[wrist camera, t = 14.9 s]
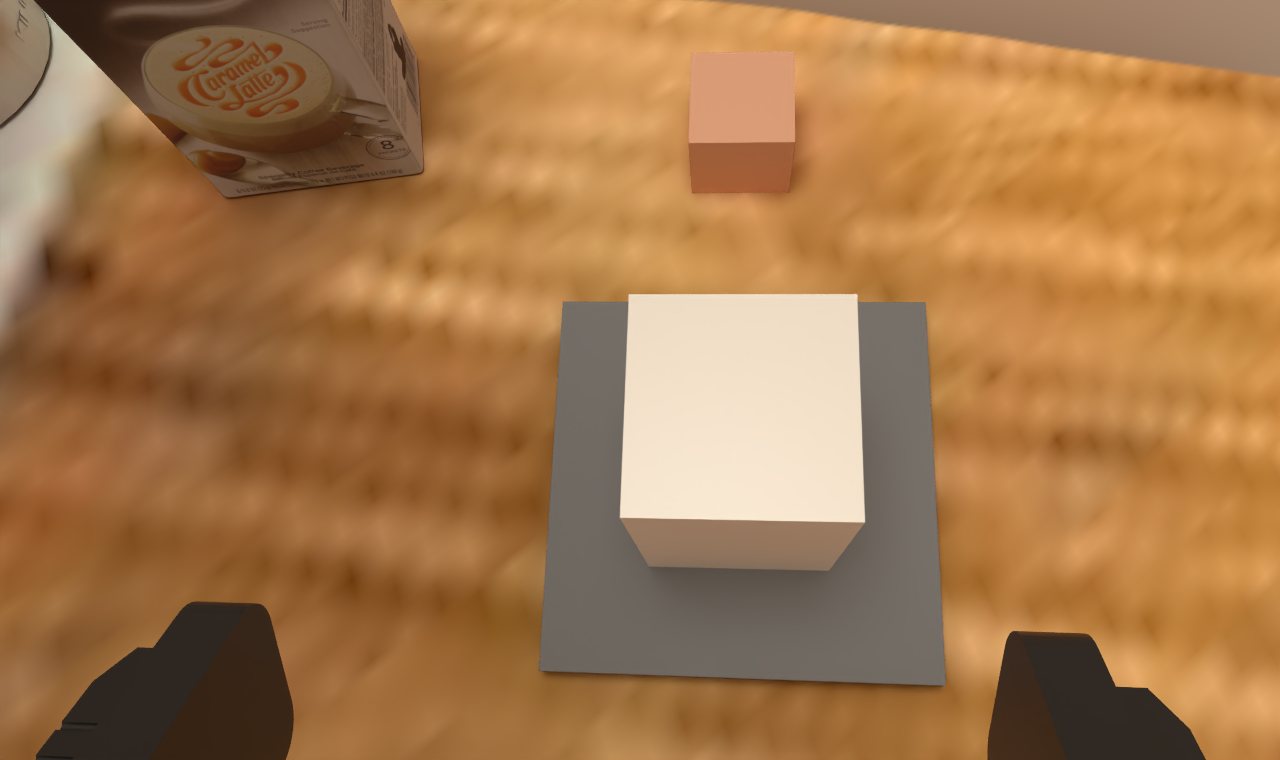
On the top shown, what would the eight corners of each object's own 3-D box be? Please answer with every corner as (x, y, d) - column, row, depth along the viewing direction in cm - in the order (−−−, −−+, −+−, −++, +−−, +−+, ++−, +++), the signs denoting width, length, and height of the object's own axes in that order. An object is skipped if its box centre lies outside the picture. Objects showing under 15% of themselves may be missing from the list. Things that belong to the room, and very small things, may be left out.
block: (788, 193, 41) (795, 142, 38) (692, 193, 42) (688, 143, 38) (788, 109, 43) (794, 51, 39) (694, 110, 43) (691, 52, 39)
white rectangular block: (828, 570, 35) (865, 522, 26) (648, 566, 36) (620, 517, 27) (824, 397, 37) (857, 293, 28) (653, 396, 38) (628, 294, 28)
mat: (940, 685, 35) (946, 685, 34) (543, 671, 36) (538, 670, 35) (920, 312, 39) (925, 302, 38) (567, 310, 40) (562, 301, 39)
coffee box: (221, 206, 43) (-54, -64, 28) (224, 80, 45) (-31, -234, 30) (429, 175, 43) (264, -114, 28) (423, 51, 45) (266, -284, 30)
